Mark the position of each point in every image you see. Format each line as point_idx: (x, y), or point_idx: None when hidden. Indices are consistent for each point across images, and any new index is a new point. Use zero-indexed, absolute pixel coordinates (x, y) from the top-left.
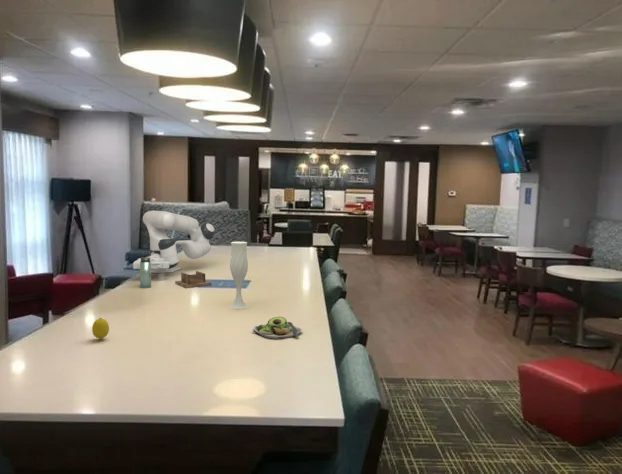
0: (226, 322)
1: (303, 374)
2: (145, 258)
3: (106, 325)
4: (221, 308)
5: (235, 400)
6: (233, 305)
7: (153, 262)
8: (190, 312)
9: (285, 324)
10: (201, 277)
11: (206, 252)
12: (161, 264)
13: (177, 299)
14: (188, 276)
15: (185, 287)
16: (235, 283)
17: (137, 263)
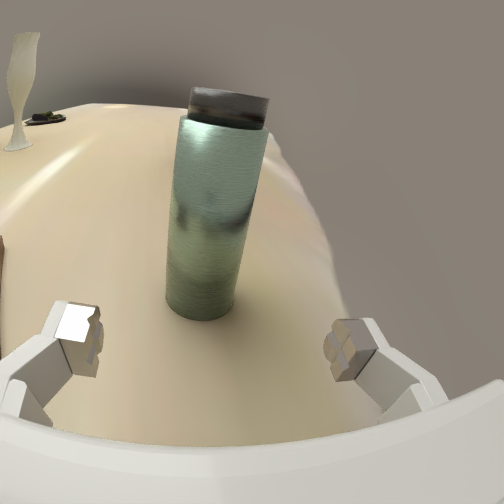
0: (71, 127)
1: (79, 108)
2: (224, 90)
3: None
4: (44, 143)
5: (121, 105)
6: (27, 140)
7: (184, 475)
8: (96, 138)
9: (42, 113)
10: None
11: None
12: (7, 358)
13: (91, 168)
14: None
15: (3, 248)
16: (24, 104)
17: (473, 391)
